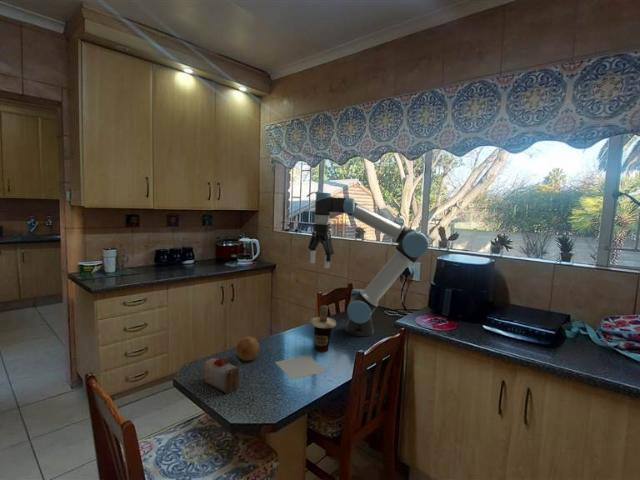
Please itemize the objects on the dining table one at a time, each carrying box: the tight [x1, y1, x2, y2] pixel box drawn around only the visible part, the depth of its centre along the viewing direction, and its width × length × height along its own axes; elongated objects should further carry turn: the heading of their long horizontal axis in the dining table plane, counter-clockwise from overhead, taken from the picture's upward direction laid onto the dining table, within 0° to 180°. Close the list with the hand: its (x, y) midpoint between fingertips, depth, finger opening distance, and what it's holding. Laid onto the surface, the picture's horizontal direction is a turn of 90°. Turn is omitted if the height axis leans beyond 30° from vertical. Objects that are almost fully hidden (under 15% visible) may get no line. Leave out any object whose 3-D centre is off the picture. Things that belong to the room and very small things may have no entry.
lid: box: [309, 304, 337, 329], centre depth 160 cm, size 12×12×8 cm
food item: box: [203, 357, 240, 394], centre depth 127 cm, size 14×8×10 cm, turn 56°
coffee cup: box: [313, 326, 333, 353], centre depth 161 cm, size 9×8×13 cm
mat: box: [274, 355, 327, 381], centre depth 143 cm, size 16×16×1 cm
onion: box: [236, 335, 261, 362], centre depth 148 cm, size 10×10×10 cm
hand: (319, 265), depth 176 cm, fingers open, 13 cm apart
